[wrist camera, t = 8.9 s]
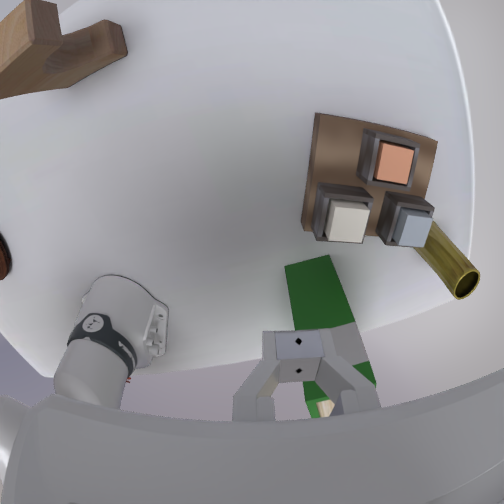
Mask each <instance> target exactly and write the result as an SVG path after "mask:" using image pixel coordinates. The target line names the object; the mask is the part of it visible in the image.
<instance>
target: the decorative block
mask: <svg viewBox="0 0 504 504" xmlns="http://www.w3.org/2000/svg"><path fill="white" fill-rule="evenodd" d="M127 53H128V52H127V49H126V45H125V41H124V37H123V33H122V29H121V25H118V24H116V23H113V22H111V21H108V20H102V21H100V22H98V23H96V24H93V25H91V26H89V27H87V28H84V29H81V30H78V31H75V32H73V33H69V34H65V35H62V34H61V29H60V23H59V17H58V10H57V4H54V3H50V2H46V1H42V0H24V1H23V2H22V3H21V4H19V5H18V6H17V7H16V8H15V9H14V10H13V11H12V12H11V13H10V14H8V15H7V16H6V17H5V18H4V19H3V20H2V21H1V22H0V99H4V98H8V97H13V96H17V95H22V94H28V93H33V92H40V91H46V90H53V89H61V88H68V87H70V86H71V85H73V84H75V83H76V82H78V81H80V80H81V79H83V78H85V77H86V76H88V75H90V74H92V73H94V72H95V71H97V70H99V69H101V68H103V67H105V66H107V65H108V64H110V63H112V62H114V61H116V60H118V59H120V58H123V57H125V56H126V55H127Z"/></svg>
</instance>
